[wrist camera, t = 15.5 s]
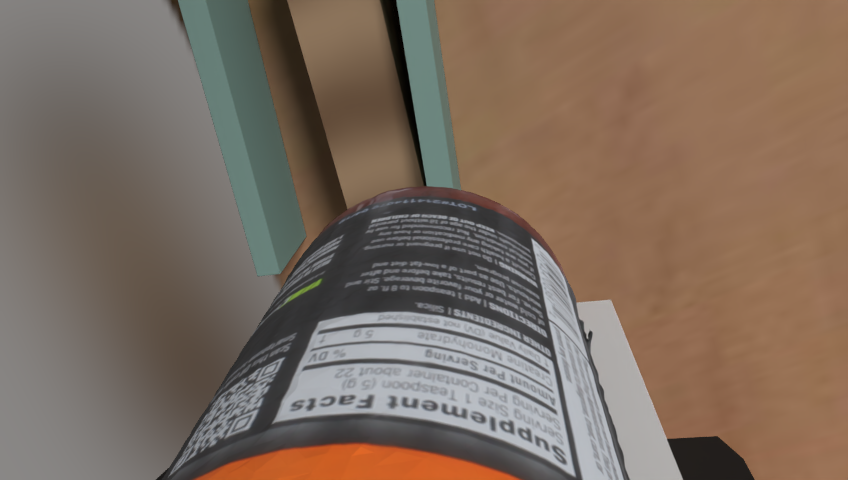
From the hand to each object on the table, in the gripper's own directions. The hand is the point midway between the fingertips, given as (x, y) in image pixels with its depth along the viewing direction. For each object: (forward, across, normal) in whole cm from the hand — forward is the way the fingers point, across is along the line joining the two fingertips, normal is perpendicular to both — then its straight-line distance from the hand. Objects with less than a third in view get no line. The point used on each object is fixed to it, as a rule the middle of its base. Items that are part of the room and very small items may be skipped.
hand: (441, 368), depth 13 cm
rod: (+21, -4, +3) cm, 21 cm away
